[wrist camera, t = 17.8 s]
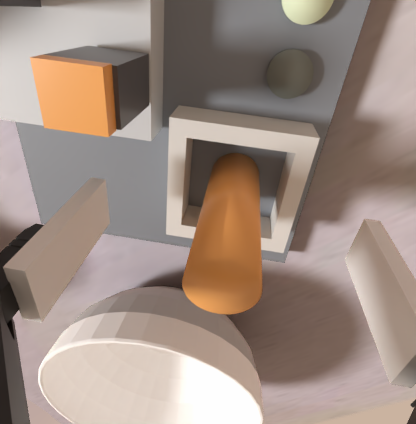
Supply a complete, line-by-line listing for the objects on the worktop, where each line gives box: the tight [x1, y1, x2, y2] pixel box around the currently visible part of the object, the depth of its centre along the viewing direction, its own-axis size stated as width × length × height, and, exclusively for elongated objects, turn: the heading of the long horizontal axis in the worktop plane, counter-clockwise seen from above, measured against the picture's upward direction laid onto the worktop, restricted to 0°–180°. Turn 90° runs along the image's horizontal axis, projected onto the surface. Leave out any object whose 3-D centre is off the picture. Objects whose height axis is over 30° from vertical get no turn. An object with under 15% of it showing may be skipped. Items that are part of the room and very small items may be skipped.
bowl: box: [38, 286, 264, 424], centre depth 29 cm, size 19×19×9 cm
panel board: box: [0, 0, 371, 263], centre depth 18 cm, size 20×20×4 cm
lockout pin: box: [182, 153, 262, 314], centre depth 16 cm, size 3×3×10 cm
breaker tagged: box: [30, 46, 149, 137], centre depth 13 cm, size 2×3×5 cm
